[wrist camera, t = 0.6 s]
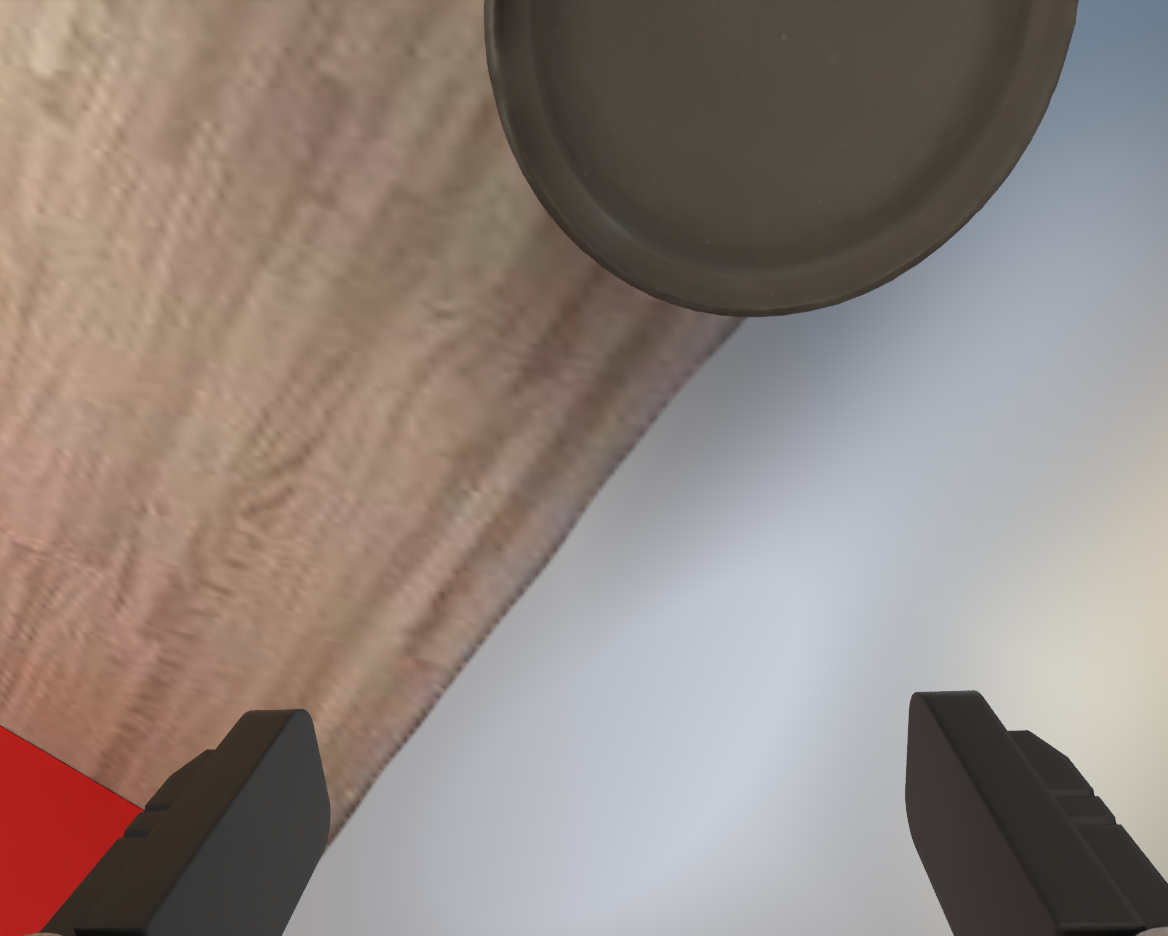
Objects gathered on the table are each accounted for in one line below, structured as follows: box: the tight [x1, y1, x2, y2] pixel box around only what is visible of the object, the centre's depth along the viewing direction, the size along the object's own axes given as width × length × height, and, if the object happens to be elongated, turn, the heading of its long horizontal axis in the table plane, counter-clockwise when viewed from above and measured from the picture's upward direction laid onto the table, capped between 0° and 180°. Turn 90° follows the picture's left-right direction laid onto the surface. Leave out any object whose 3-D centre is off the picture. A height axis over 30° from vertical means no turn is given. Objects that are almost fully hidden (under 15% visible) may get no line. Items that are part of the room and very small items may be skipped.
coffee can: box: [484, 0, 1079, 317], centre depth 20 cm, size 10×10×14 cm
